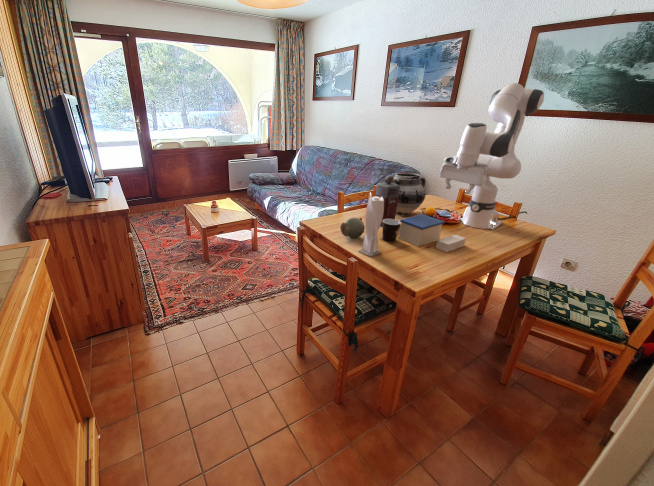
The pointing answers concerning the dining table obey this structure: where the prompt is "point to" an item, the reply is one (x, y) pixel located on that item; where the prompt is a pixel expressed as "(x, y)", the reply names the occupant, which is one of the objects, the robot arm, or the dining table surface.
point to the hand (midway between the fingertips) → (457, 191)
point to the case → (451, 243)
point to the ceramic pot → (409, 192)
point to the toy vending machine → (388, 197)
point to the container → (420, 229)
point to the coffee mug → (390, 230)
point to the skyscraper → (372, 225)
